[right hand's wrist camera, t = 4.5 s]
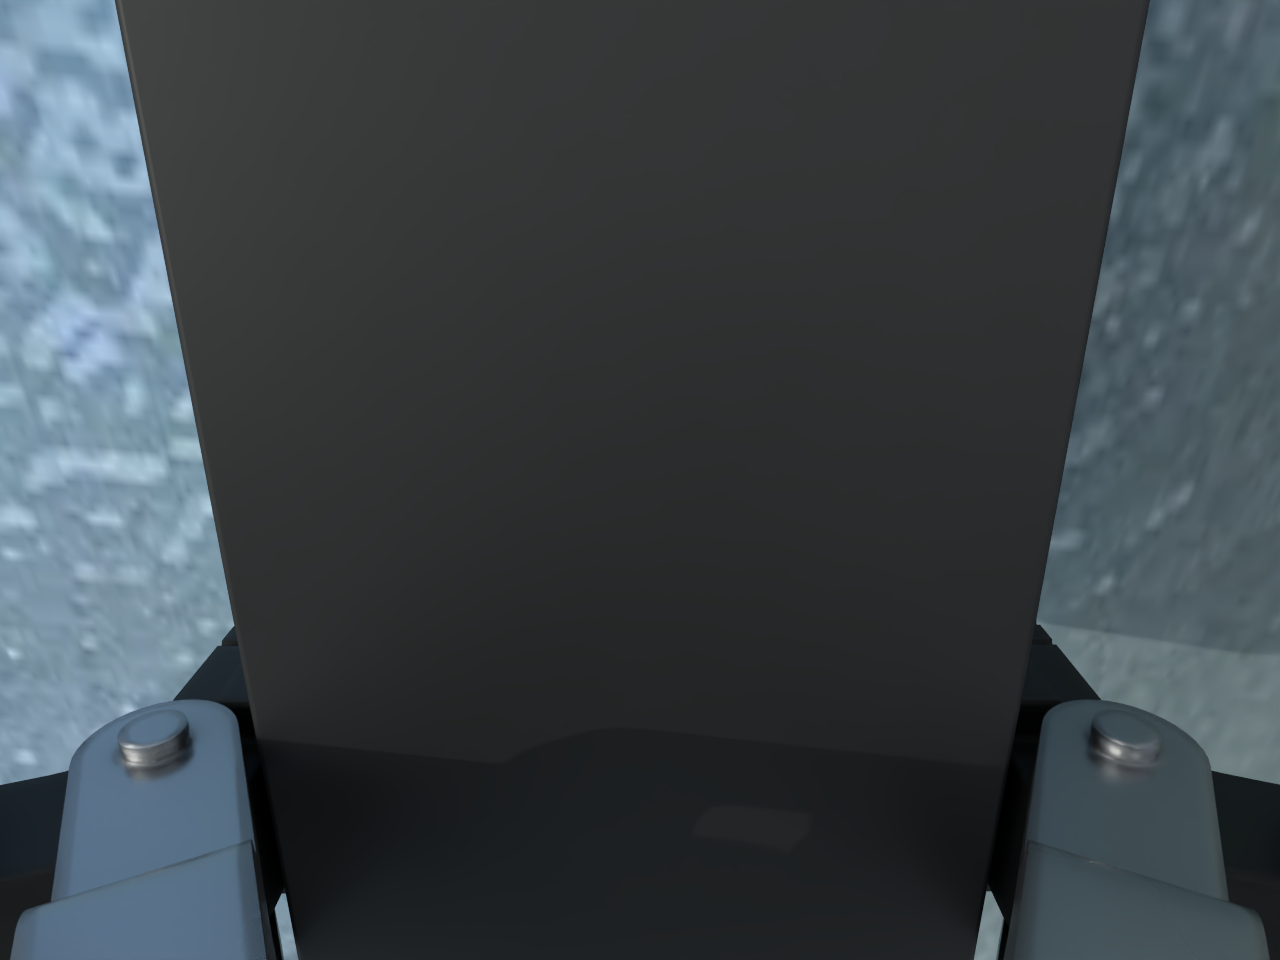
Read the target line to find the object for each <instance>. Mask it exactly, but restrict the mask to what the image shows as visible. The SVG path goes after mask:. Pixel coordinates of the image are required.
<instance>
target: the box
mask: <svg viewBox="0 0 1280 960" xmlns="http://www.w3.org/2000/svg"><path fill="white" fill-rule="evenodd" d="M1149 1H1150V0H115V4H116V9H117V14H118V20H119V25H120V30H121V35H122V40H123V46H124V51H125V56H126V61H127V67H128V72H129V77H130V82H131V87H132V93H133V98H134V103H135V108H136V114H137V119H138V124H139V129H140V134H141V140H142V145H143V150H144V155H145V161H146V166H147V171H148V176H149V181H150V187H151V192H152V197H153V202H154V208H155V213H156V218H157V223H158V228H159V234H160V239H161V244H162V249H163V255H164V260H165V265H166V270H167V275H168V281H169V286H170V291H171V296H172V302H173V307H174V312H175V317H176V322H177V328H178V333H179V338H180V343H181V349H182V354H183V359H184V364H185V369H186V375H187V380H188V385H189V390H190V396H191V401H192V406H193V411H194V416H195V422H196V427H197V432H198V437H199V443H200V448H201V453H202V458H203V463H204V469H205V474H206V479H207V484H208V490H209V495H210V500H211V505H212V510H213V516H214V521H215V526H216V531H217V537H218V542H219V547H220V552H221V557H222V563H223V568H224V573H225V578H226V584H227V589H228V594H229V599H230V604H231V610H232V615H233V620H234V625H235V630H236V636H237V641H238V646H239V651H240V657H241V662H242V667H243V672H244V677H245V683H246V688H247V693H248V698H249V704H250V709H251V714H252V719H253V724H254V730H255V735H256V740H257V745H258V751H259V756H260V761H261V766H262V771H263V777H264V782H265V787H266V792H267V798H268V803H269V808H270V813H271V818H272V824H273V829H274V834H275V839H276V845H277V850H278V855H279V860H280V865H281V871H282V876H283V881H284V886H285V892H286V897H287V902H288V907H289V912H290V918H291V923H292V928H293V933H294V939H295V944H296V949H297V954H298V959H299V960H974V955H975V949H976V944H977V938H978V933H979V927H980V922H981V916H982V911H983V906H984V900H985V895H986V889H987V884H988V878H989V873H990V867H991V862H992V857H993V851H994V846H995V840H996V835H997V829H998V824H999V818H1000V813H1001V808H1002V802H1003V797H1004V791H1005V786H1006V780H1007V775H1008V769H1009V764H1010V759H1011V753H1012V748H1013V742H1014V737H1015V731H1016V726H1017V720H1018V715H1019V709H1020V704H1021V699H1022V693H1023V688H1024V682H1025V677H1026V671H1027V666H1028V660H1029V655H1030V650H1031V644H1032V639H1033V633H1034V628H1035V622H1036V617H1037V611H1038V606H1039V601H1040V595H1041V590H1042V584H1043V579H1044V573H1045V568H1046V562H1047V557H1048V552H1049V546H1050V541H1051V535H1052V530H1053V524H1054V519H1055V513H1056V508H1057V502H1058V497H1059V492H1060V486H1061V481H1062V475H1063V470H1064V464H1065V459H1066V453H1067V448H1068V443H1069V437H1070V432H1071V426H1072V421H1073V415H1074V410H1075V404H1076V399H1077V394H1078V388H1079V383H1080V377H1081V372H1082V366H1083V361H1084V355H1085V350H1086V345H1087V339H1088V334H1089V328H1090V323H1091V317H1092V312H1093V306H1094V301H1095V296H1096V290H1097V285H1098V279H1099V274H1100V268H1101V263H1102V257H1103V252H1104V246H1105V241H1106V236H1107V230H1108V225H1109V219H1110V214H1111V208H1112V203H1113V197H1114V192H1115V187H1116V181H1117V176H1118V170H1119V165H1120V159H1121V154H1122V148H1123V143H1124V138H1125V132H1126V127H1127V121H1128V116H1129V110H1130V105H1131V99H1132V94H1133V89H1134V83H1135V78H1136V72H1137V67H1138V61H1139V56H1140V50H1141V45H1142V40H1143V34H1144V29H1145V23H1146V18H1147V12H1148V7H1149Z"/></svg>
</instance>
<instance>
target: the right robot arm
mask: <svg viewBox="0 0 1280 960" xmlns="http://www.w3.org/2000/svg"><path fill="white" fill-rule="evenodd" d="M986 891H992V893H993V896H994V898H995V900H996V902H997V904H998V906H999V908H1000V911H1001V913H1002V915H1003V917H1004V918H1003V923H1002V928H1001V933H1000V938H999V944H998V951H997V957H996V960H1280V785H1278V784H1273V783H1268V782H1263V781H1258V780H1253V779H1248V778H1243V777H1238V776H1233V775H1228V774H1223V773H1219V772H1215V771H1211V766H1210V763H1209V759H1208V757H1207V755H1206V754H1205V752H1204V750H1203V749H1202V748H1201V747H1200V746H1199V744H1198V743H1197V742H1196V741H1195V740H1194V739H1193V738H1191V737H1190V736H1189V735H1188V734H1187V733H1186V732H1184V731H1183V730H1181V729H1180V728H1178V727H1177V726H1175V725H1174V724H1172V723H1170V722H1168V721H1167V720H1165V719H1163V718H1161V717H1159V716H1156V715H1154V714H1152V713H1150V712H1147V711H1144V710H1142V709H1139V708H1136V707H1132V706H1129V705H1125V704H1121V703H1116V702H1111V701H1103V700H1101V699H1100V698H1099V697H1098V695H1097V694H1096V693H1095V692H1094V690H1093V689H1092V688H1091V687H1090V686H1089V684H1088V683H1087V682H1086V681H1085V679H1084V678H1083V677H1082V676H1081V674H1080V673H1079V672H1078V671H1077V670H1076V668H1075V667H1074V666H1073V665H1072V663H1071V662H1070V661H1069V660H1068V659H1067V657H1066V656H1065V655H1064V654H1063V652H1062V651H1061V650H1060V649H1059V647H1058V646H1057V645H1052V639H1051V638H1050V636H1049V635H1048V634H1047V633H1046V631H1045V630H1044V629H1043V628H1042V627H1041V625H1037V624H1036V622H1035V628H1034V633H1033V639H1032V644H1031V650H1030V655H1029V660H1028V666H1027V671H1026V677H1025V682H1024V688H1023V693H1022V699H1021V704H1020V709H1019V715H1018V720H1017V726H1016V731H1015V737H1014V742H1013V748H1012V753H1011V759H1010V764H1009V769H1008V775H1007V780H1006V786H1005V791H1004V797H1003V802H1002V808H1001V813H1000V818H999V824H998V829H997V835H996V840H995V846H994V851H993V857H992V862H991V867H990V873H989V878H988V884H987V889H986ZM282 893H286V892H285V886H284V881H283V876H282V871H281V865H280V860H279V855H278V850H277V845H276V839H275V834H274V829H273V824H272V818H271V813H270V808H269V803H268V798H267V792H266V787H265V782H264V777H263V771H262V766H261V761H260V756H259V751H258V745H257V740H256V735H255V730H254V724H253V719H252V714H251V709H250V704H249V698H248V693H247V688H246V683H245V677H244V672H243V667H242V662H241V657H240V651H239V646H238V641H237V636H236V630H235V626H234V627H233V628H232V629H231V630H230V632H229V633H228V634H227V635H226V637H225V638H224V639H223V640H222V646H217V647H216V649H215V650H214V651H213V652H212V654H211V655H210V656H209V657H208V658H207V660H206V661H205V662H204V663H203V664H202V666H201V667H200V668H199V669H198V671H197V672H196V673H195V674H194V675H193V677H192V678H191V679H190V680H189V681H188V683H187V684H186V685H185V686H184V688H183V689H182V690H181V691H180V692H179V694H178V695H177V696H176V697H175V698H174V700H173V701H169V702H164V703H159V704H155V705H151V706H148V707H144V708H141V709H138V710H136V711H133V712H130V713H128V714H126V715H124V716H121V717H119V718H117V719H115V720H113V721H112V722H110V723H108V724H106V725H105V726H103V727H102V728H100V729H99V730H97V731H96V732H95V733H93V734H92V735H91V736H90V737H89V738H87V739H86V740H85V741H84V742H83V743H82V744H81V746H80V747H79V748H78V749H77V750H76V752H75V754H74V755H73V757H72V759H71V763H70V766H69V771H65V772H61V773H57V774H53V775H49V776H44V777H39V778H34V779H29V780H24V781H19V782H14V783H9V784H4V785H0V960H284V957H283V950H282V944H281V938H280V933H279V928H278V923H277V918H276V913H275V906H276V904H277V902H278V900H279V898H280V896H281V894H282Z"/></svg>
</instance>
